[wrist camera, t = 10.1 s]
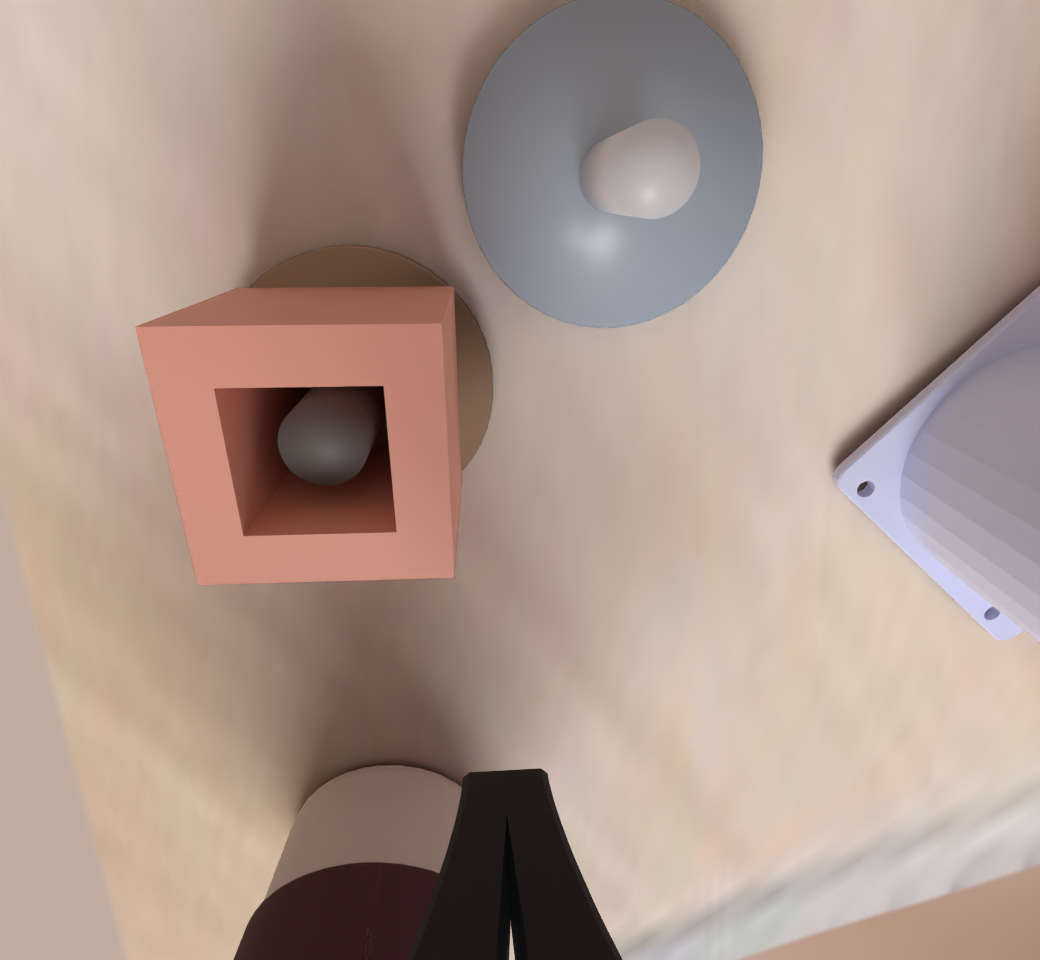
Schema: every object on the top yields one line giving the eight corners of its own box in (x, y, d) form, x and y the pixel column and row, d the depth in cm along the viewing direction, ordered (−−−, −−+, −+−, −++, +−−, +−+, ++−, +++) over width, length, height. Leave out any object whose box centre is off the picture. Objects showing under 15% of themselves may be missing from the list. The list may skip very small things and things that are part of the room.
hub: (544, 367, 18) (565, 425, 13) (391, 541, 19) (363, 642, 15) (328, 181, 15) (266, 176, 11) (179, 397, 17) (76, 465, 13)
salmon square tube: (453, 286, 16) (441, 323, 11) (461, 480, 18) (454, 577, 13) (237, 287, 16) (135, 326, 11) (271, 484, 18) (198, 585, 13)
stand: (808, 161, 16) (932, 149, 11) (609, 375, 18) (651, 434, 13) (604, -80, 14) (661, -210, 9) (404, 191, 16) (373, 191, 11)
